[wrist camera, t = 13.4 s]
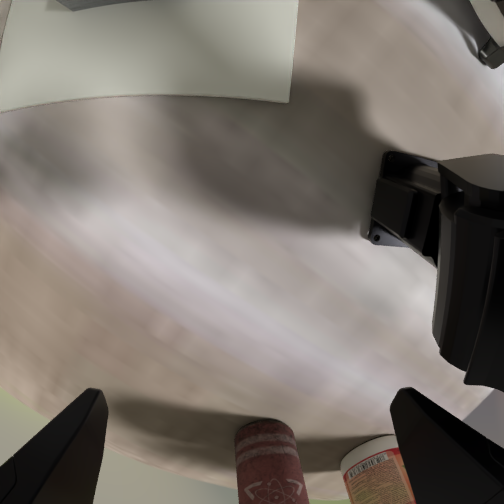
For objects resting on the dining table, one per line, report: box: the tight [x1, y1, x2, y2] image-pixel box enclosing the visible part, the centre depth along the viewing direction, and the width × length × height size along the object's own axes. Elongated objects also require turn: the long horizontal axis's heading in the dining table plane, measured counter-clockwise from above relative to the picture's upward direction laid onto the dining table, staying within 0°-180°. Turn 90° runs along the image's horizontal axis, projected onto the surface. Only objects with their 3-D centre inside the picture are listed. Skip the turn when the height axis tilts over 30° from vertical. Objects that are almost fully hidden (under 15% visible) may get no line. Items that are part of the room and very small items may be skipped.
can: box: [234, 420, 309, 504], centre depth 22 cm, size 6×6×14 cm
